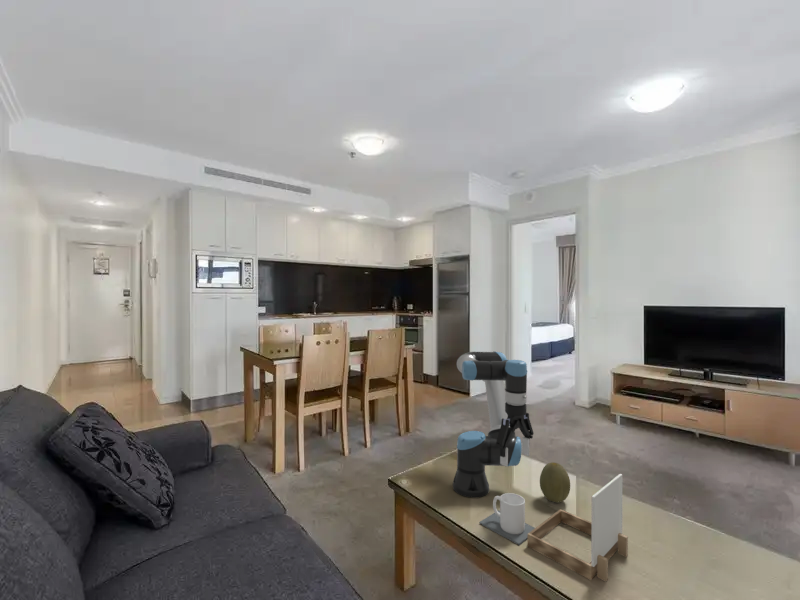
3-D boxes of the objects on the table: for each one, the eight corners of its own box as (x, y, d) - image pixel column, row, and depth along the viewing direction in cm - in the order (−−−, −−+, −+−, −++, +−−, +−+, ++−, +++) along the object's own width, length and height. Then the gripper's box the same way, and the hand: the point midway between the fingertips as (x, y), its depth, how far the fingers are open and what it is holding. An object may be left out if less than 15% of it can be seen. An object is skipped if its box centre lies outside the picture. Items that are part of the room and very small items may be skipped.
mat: (479, 523, 137) (479, 522, 137) (498, 511, 145) (498, 510, 145) (519, 545, 125) (519, 543, 125) (537, 530, 133) (537, 529, 133)
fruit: (555, 491, 160) (555, 455, 160) (576, 504, 150) (576, 466, 150) (533, 496, 156) (533, 459, 156) (553, 510, 146) (553, 471, 146)
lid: (591, 579, 110) (591, 496, 110) (619, 547, 124) (620, 473, 124) (602, 585, 107) (603, 500, 107) (630, 552, 122) (630, 476, 122)
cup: (516, 538, 128) (517, 507, 128) (486, 522, 136) (486, 494, 136) (529, 528, 133) (529, 499, 133) (499, 513, 142) (499, 486, 142)
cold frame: (527, 546, 124) (527, 534, 124) (560, 520, 139) (560, 509, 139) (590, 580, 109) (590, 566, 109) (620, 546, 124) (620, 534, 124)
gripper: (503, 411, 130) (503, 473, 130) (543, 399, 145) (542, 454, 146) (485, 406, 135) (485, 465, 136) (526, 394, 151) (525, 447, 152)
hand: (515, 459), depth 141 cm, fingers open, 13 cm apart
